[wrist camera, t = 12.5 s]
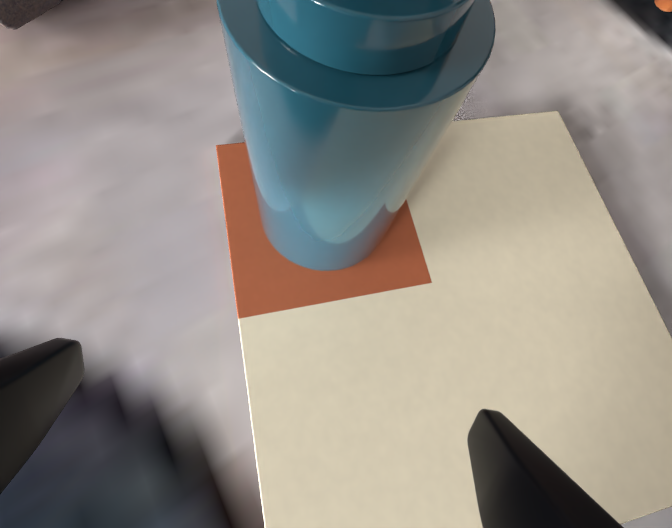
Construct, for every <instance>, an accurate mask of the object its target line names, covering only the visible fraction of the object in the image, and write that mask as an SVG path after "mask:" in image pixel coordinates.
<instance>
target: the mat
mask: <svg viewBox="0 0 672 528" xmlns="http://www.w3.org/2000/svg"><path fill="white" fill-rule="evenodd" d="M216 150H217V158H218V165H219V173H220V181H221V189H222V197H223V205H224V212H225V220H226V228H227V236H228V244H229V251H230V259H231V267H232V275H233V283H234V291H235V298H236V306H237V314H238V322H239V330H240V337H241V345H242V353H243V361H244V369H245V377H246V384H247V392H248V400H249V408H250V416H251V423H252V431H253V439H254V447H255V455H256V463H257V470H258V478H259V486H260V494H261V502H262V510H263V517H264V525H265V528H483V526H482V522H481V518H480V513H479V508H478V503H477V497H476V491H475V485H474V479H473V473H472V468H471V462H470V456H469V450H468V443H467V438H468V433H469V430H470V428H471V426H472V424H473V422H474V420H475V418H476V416H477V414H478V412H479V411H480V410H481V409H490V410H496V411H499V412H501V413H502V414H503V415H504V416H506V417H507V418H508V419H509V420H510V421H511V422H512V423H513V424H514V425H515V426H516V427H517V428H518V429H519V430H520V431H521V432H523V433H524V434H525V435H526V436H527V437H528V438H529V439H530V440H531V441H532V442H533V443H534V444H535V445H536V446H537V447H538V448H540V449H541V450H542V451H543V452H544V453H545V454H546V455H547V456H548V457H549V458H550V459H551V460H552V461H553V462H554V463H555V464H557V465H558V466H559V467H560V468H561V469H562V470H563V471H564V472H565V473H566V474H567V475H568V476H569V477H570V478H571V479H572V480H574V481H575V482H576V483H577V484H578V485H579V486H580V487H581V488H582V489H583V490H584V491H585V492H586V493H587V494H588V495H589V496H591V497H592V498H593V499H594V500H595V501H596V502H597V503H598V504H599V505H600V506H601V507H602V508H603V509H604V510H605V511H606V512H608V513H609V514H610V515H611V516H612V517H613V518H614V519H615V520H616V521H617V522H618V523H619V524H623V523H626V522H629V521H631V520H634V519H637V518H640V517H643V516H646V515H649V514H651V513H654V512H657V511H660V510H663V509H666V508H669V507H671V506H672V338H671V336H670V334H669V332H668V330H667V328H666V326H665V324H664V322H663V320H662V318H661V316H660V314H659V312H658V310H657V308H656V306H655V304H654V302H653V300H652V298H651V296H650V294H649V292H648V290H647V288H646V286H645V284H644V282H643V280H642V278H641V276H640V274H639V272H638V270H637V268H636V266H635V264H634V262H633V260H632V258H631V256H630V254H629V252H628V250H627V248H626V246H625V244H624V242H623V240H622V238H621V236H620V234H619V232H618V230H617V228H616V226H615V224H614V222H613V220H612V218H611V216H610V214H609V212H608V210H607V208H606V206H605V204H604V202H603V200H602V198H601V196H600V194H599V192H598V190H597V188H596V186H595V184H594V182H593V180H592V178H591V176H590V174H589V172H588V170H587V168H586V166H585V164H584V162H583V160H582V158H581V156H580V154H579V152H578V150H577V148H576V146H575V144H574V142H573V140H572V138H571V136H570V134H569V132H568V130H567V128H566V126H565V124H564V122H563V120H562V118H561V116H560V114H559V112H558V111H550V112H540V113H531V114H521V115H511V116H501V117H491V118H481V119H471V120H462V121H452V122H451V124H450V126H449V127H448V129H447V131H446V132H445V134H444V136H443V137H442V139H441V141H440V142H439V144H438V146H437V147H436V149H435V151H434V152H433V154H432V156H431V158H430V159H429V161H428V163H427V164H426V166H425V168H424V169H423V171H422V173H421V174H420V176H419V178H418V179H417V181H416V183H415V184H414V186H413V188H412V190H411V191H410V193H409V195H408V196H407V198H406V200H405V201H404V203H403V205H402V206H401V208H400V210H399V211H398V213H397V215H396V216H395V218H394V220H393V221H392V223H391V225H390V227H389V228H388V230H387V232H386V233H385V235H384V237H383V238H382V240H381V242H380V243H379V245H378V246H377V248H376V249H375V250H374V251H373V252H372V253H371V254H370V255H369V256H368V257H367V258H365V259H364V260H362V261H361V262H359V263H357V264H355V265H353V266H350V267H348V268H344V269H340V270H332V271H320V270H313V269H309V268H305V267H302V266H300V265H297V264H295V263H293V262H292V261H290V260H288V259H287V258H285V257H284V256H283V255H281V254H280V253H279V252H278V251H277V250H276V249H275V248H274V247H273V245H272V244H271V243H270V241H269V240H268V238H267V236H266V234H265V232H264V230H263V227H262V223H261V219H260V214H259V209H258V204H257V199H256V194H255V189H254V184H253V179H252V174H251V170H250V165H249V160H248V155H247V150H246V145H245V142H244V143H234V144H224V145H216Z"/></svg>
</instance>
